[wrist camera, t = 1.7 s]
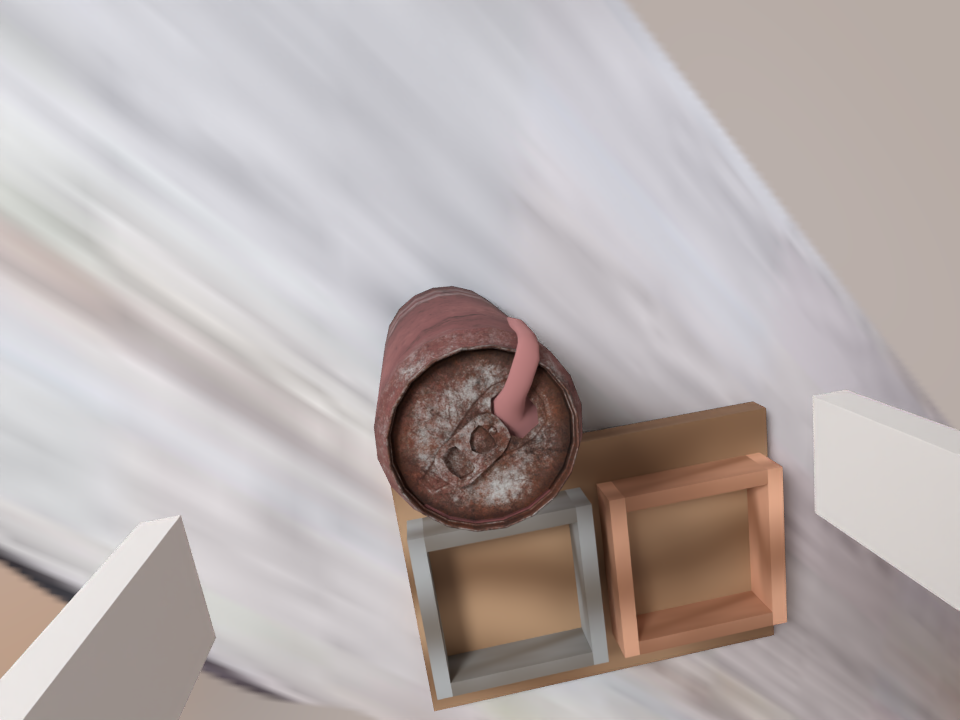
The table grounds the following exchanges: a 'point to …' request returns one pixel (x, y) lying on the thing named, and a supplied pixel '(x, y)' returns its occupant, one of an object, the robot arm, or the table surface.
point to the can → (473, 413)
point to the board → (608, 562)
